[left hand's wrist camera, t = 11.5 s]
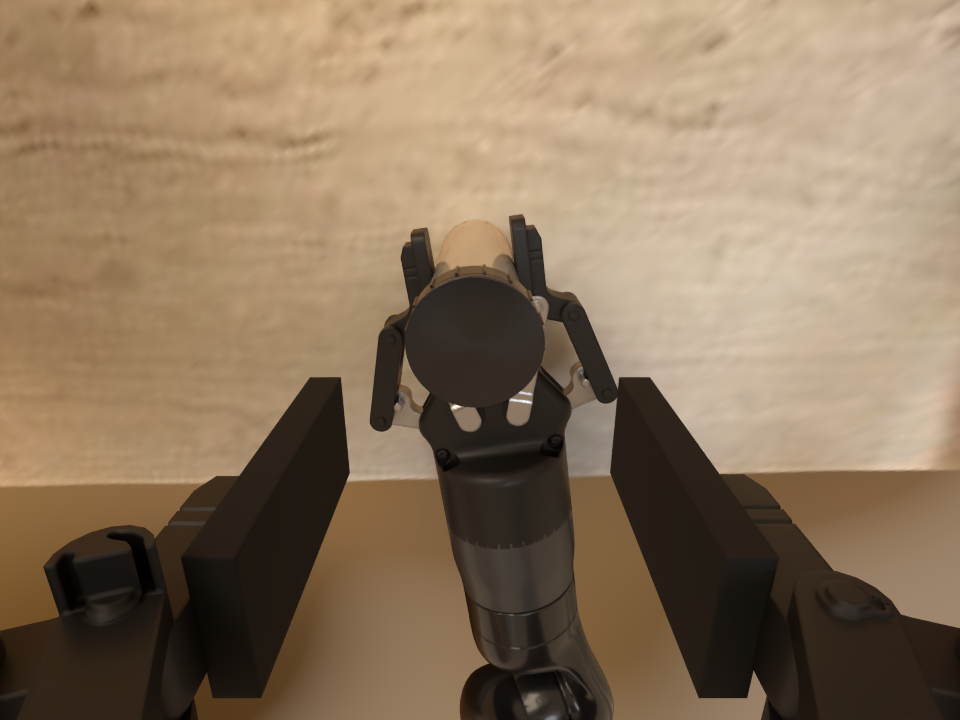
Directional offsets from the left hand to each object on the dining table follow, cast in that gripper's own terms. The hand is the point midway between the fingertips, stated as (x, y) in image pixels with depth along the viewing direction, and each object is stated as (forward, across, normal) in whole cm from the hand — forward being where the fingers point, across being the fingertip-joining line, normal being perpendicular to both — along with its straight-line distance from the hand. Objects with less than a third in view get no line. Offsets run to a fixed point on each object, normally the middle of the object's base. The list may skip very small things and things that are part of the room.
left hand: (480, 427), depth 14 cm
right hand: (+16, +1, -3) cm, 16 cm away
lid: (+6, 0, 0) cm, 6 cm away
